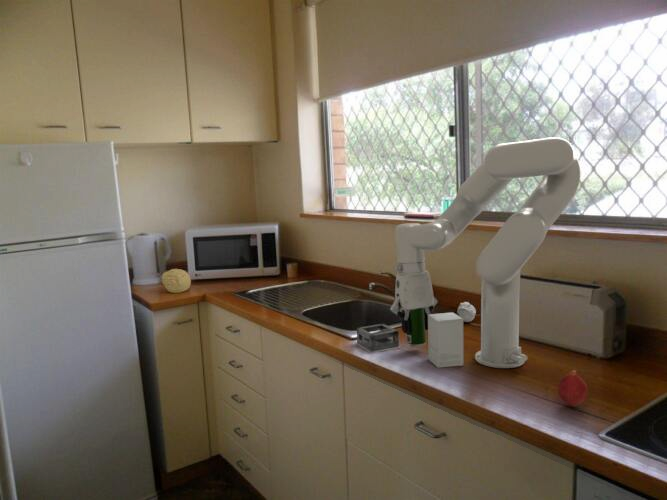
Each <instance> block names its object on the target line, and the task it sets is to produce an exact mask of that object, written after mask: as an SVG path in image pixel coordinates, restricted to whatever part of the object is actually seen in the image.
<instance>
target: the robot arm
mask: <svg viewBox="0 0 667 500" xmlns="http://www.w3.org/2000/svg"><path fill="white" fill-rule="evenodd" d="M581 172H582V171H581V165H580V161H579V159H578V155H577V153H576V152H575V149H574V147H573V146H572V144H571V143H570V142H569V141H568V140H567V139H565V138H562V137H557V136H556V137H554V136H553V137H551V136H550V137H546V138H545V137H544V138H536V139H529V140H522V141H513V142H503V143H498V144H495V145H493V146H492V147H491V148H490V149H488V151H487V153H486V155H485V157H484V160H483V161H482V162H481V163H480V165H479V166H478V167H477V168H476V169H475V170H474V171H473V172H472V173H471V175H469V177H468V178H467V179H466V180H465V181H464V182H463V183H462V184H461V185H460V186H459V188H458V191H457V192H456V196H455V198H454V199H453V200H452V202H451V203H450V204H449V206H448V207H447V208H446V209H445V210H444V211H443V212H442V213H441V215H439V216H438V218H436V220H433V221H431V222H429V223H423V224H420V223H418V222H409V223H408V222H407V223H401V224H398V225H396V228H395V240H396V253H397V257H396V259H397V264H396V265H395V266H394V271H395V272H397V273H396V277H395V287H394V288H395V289H394V291H395V292H394V293H395V294H394V297H395V299H394V302H393V303H392V305H391V307H390V308H389V309H390V311H391V312H392V313H393V314H395V316H397V317H398V318H399V320H400V321H401V322H400V323H401V330H402V332H403V333H404V334H406V335H407V334H410V333H411V328H410V320H408V316H409V312H410V310H415V309H418V308H424V314H425V330H426V331H428V315H430V314H431V313H432V311H433V309H434V307H435V306H436V305H437V304H438V302H439V300H437V298H436V297H435V296H434V289H433V286H432V285H433V284H432V279H431V276H430V273H429V271H428V270H426V259H425V258H426V256H425V250H426V251H439V250H443V248H446V246H448V245H450V244H452V243H453V241H454V240H455V239H456V238H457V237H459V235H460V234H461V233H462V232H463V231H464V230H465V229H466V228H467V227H468V226H469V225H470V224H471V222H472V221H474V219H476V217H477V216H478V215H480V214H481V213H482V212H483V211H484V210H485V208H487V207H488V206H489V205H490V203H492V201H493V200H494V199H495V198H496V197H497V196H498V195H499V194H500V193H501V192H502V191H504V189H505V188H506V187H507V186H508V185H509V184H510V183H511V182H512V181H513V179H520V178H529V177H531V178H532V177H539V176H542V178H541V180H540V182H539V183H538V185H537V186H536V188H535V189H534V190H533V191H532V193H531V194H530V195H529V196H528V198H527V199H526V201H525V202H524V203H523V204H522V205H521V207H520V208H519V209H518V210H516V211H515V212H514V213H513V214H512V215H510V217H508V218H507V219H506V221H505V222H504V224H502V226H501V227H500V228H499V230H498V231H497V232H496V234H495V235H493V237H492V238H491V240H490V241H489V243H488V244H487V245H486V246H485V248H484V249H483V250H482V251H481V252H480V254H479V255H478V257H477V260H476V265H475V266H476V267H475V269H476V273H477V276H478V277H479V279H480V280H481V293H480V295H481V299H480V301H481V302H480V304H481V305H480V315H481V316H480V350H479V351H476V353H475V354H474V359H475V361H476V362H477V363H478V364H480V365H483V366H486V367H489V368H496V369H510V368H511V369H513V368H514V369H515V368H518V367H520V366H522V365H524V364H525V362H526V361H527V360H528V355H526V354H524V353H522V347H521V346H519V343H520V337H519V335H520V331H519V329H520V294H521V292H520V290H521V289H520V288H521V287H520V286H521V285H520V284H521V272H522V271H521V270H522V268H523V266H524V265H525V264H526V263H527V261H528V260H530V258H531V257H532V256H533V254H534V253H535V252H536V251H537V250H538V248H539V247H540V246H541V244H542V243H543V242H544V240H545V238H546V236H547V234H548V231H549V230H550V228H551V227H552V226H553V224H554V223H555V222H556V221H557V220H558V218H560V216H561V215H562V213H563V212H564V210H565V209H566V208H567V206H568V205H569V204H570V202H571V201H572V200H573V198H574V196H575V195H576V193H577V190H578V188H579V185H580V182H581V174H582V173H581Z"/></svg>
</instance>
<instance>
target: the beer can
mask: <svg viewBox="0 0 667 500" xmlns="http://www.w3.org/2000/svg"><path fill="white" fill-rule="evenodd" d="M408 320H410V328H411V333H410V334H406V343H407V345H408V347H409V346H410V347H414V348H419V347H424V346H425V345H426V343H427V333H426V332H427V330H425V314H424V308H418V309H415V310H410V312H409V316H408Z"/></svg>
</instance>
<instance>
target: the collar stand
mask: <svg viewBox="0 0 667 500" xmlns="http://www.w3.org/2000/svg"><path fill="white" fill-rule="evenodd" d="M376 331H379V332H377V333H371V332H376ZM399 334H400V333H399V330H398V329H395V328H393V327H391V326H389V325H387V324H385V323H379V324H374V325H367V326H360V327H357V328H356V342H355V345H357V346H358V347H360V348H362V349H364V350H365V351H367V352H369V353H370V354H373V353H375V354H376V353H381V352H385V351H391V350H396V349H400V348H401V346H400V345H399Z"/></svg>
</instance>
